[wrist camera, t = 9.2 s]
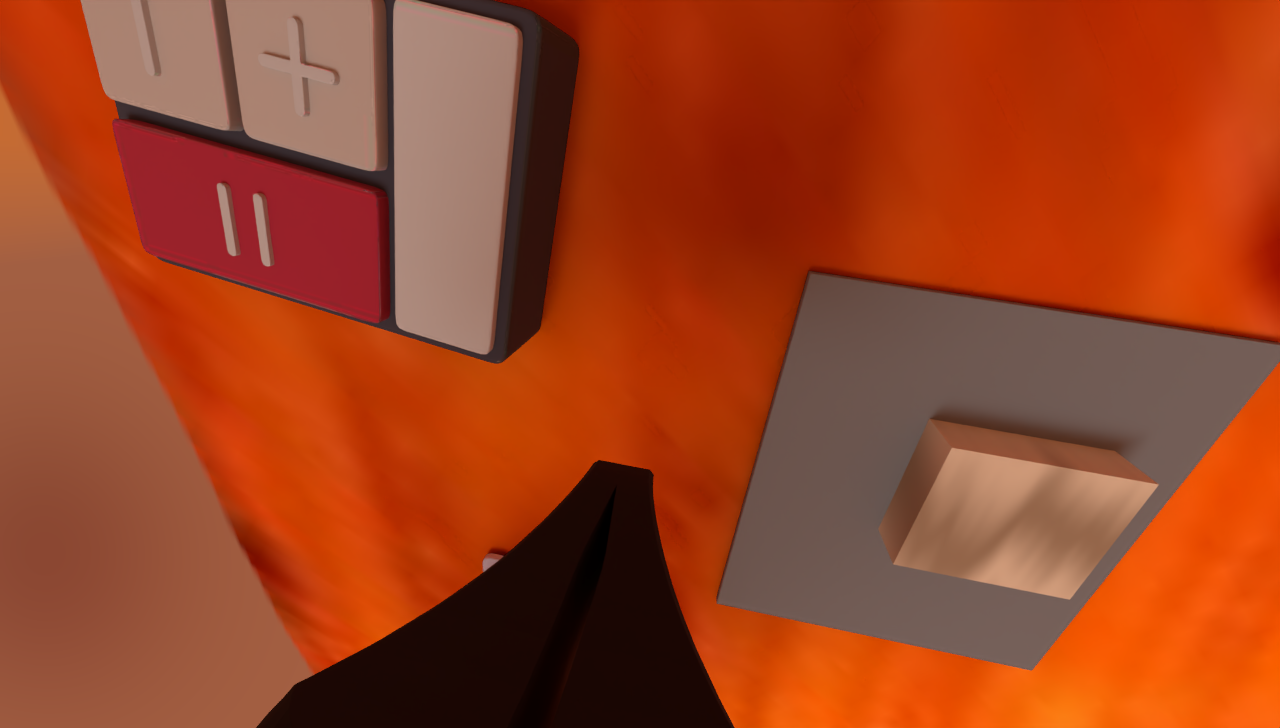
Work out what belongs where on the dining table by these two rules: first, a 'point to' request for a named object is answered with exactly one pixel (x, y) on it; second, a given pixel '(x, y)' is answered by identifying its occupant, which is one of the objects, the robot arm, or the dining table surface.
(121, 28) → the calculator
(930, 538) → the maple tile
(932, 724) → the dining table surface
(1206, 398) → the mat
